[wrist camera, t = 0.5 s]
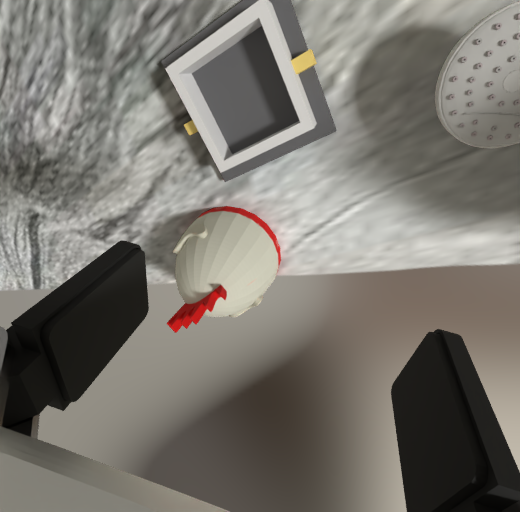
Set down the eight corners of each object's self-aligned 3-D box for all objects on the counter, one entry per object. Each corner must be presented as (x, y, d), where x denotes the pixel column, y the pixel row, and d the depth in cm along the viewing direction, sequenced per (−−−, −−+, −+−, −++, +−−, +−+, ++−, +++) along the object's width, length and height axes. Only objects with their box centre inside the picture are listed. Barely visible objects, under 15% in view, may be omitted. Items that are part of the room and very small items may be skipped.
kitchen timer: (171, 235, 45) (103, 298, 32) (239, 186, 38) (187, 243, 26) (228, 301, 49) (188, 380, 36) (299, 268, 42) (280, 351, 30)
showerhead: (656, -22, 17) (558, 156, 23) (576, 2, 23) (514, 138, 29) (475, -19, 19) (424, 145, 24) (444, 2, 25) (408, 130, 30)
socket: (286, -28, 26) (277, -42, 23) (339, 127, 32) (339, 134, 28) (163, 63, 33) (142, 62, 29) (225, 180, 38) (213, 191, 35)
